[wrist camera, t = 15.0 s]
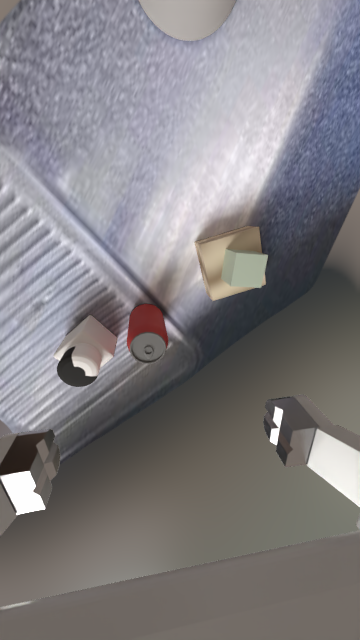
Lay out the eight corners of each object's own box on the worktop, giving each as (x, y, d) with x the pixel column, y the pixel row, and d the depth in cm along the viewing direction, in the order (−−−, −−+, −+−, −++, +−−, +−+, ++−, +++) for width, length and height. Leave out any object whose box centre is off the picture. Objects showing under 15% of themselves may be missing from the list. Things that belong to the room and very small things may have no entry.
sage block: (225, 248, 39) (236, 252, 35) (253, 250, 40) (268, 255, 36) (220, 278, 41) (230, 286, 37) (248, 280, 42) (260, 287, 38)
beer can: (131, 335, 48) (128, 369, 37) (127, 304, 46) (123, 331, 35) (164, 331, 49) (170, 364, 38) (162, 301, 46) (168, 327, 35)
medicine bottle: (93, 359, 49) (79, 400, 38) (64, 337, 46) (40, 374, 35) (118, 337, 48) (111, 373, 37) (90, 313, 45) (74, 344, 34)
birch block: (194, 241, 43) (200, 244, 39) (246, 225, 43) (258, 226, 39) (206, 292, 47) (212, 300, 43) (253, 277, 48) (265, 284, 43)
